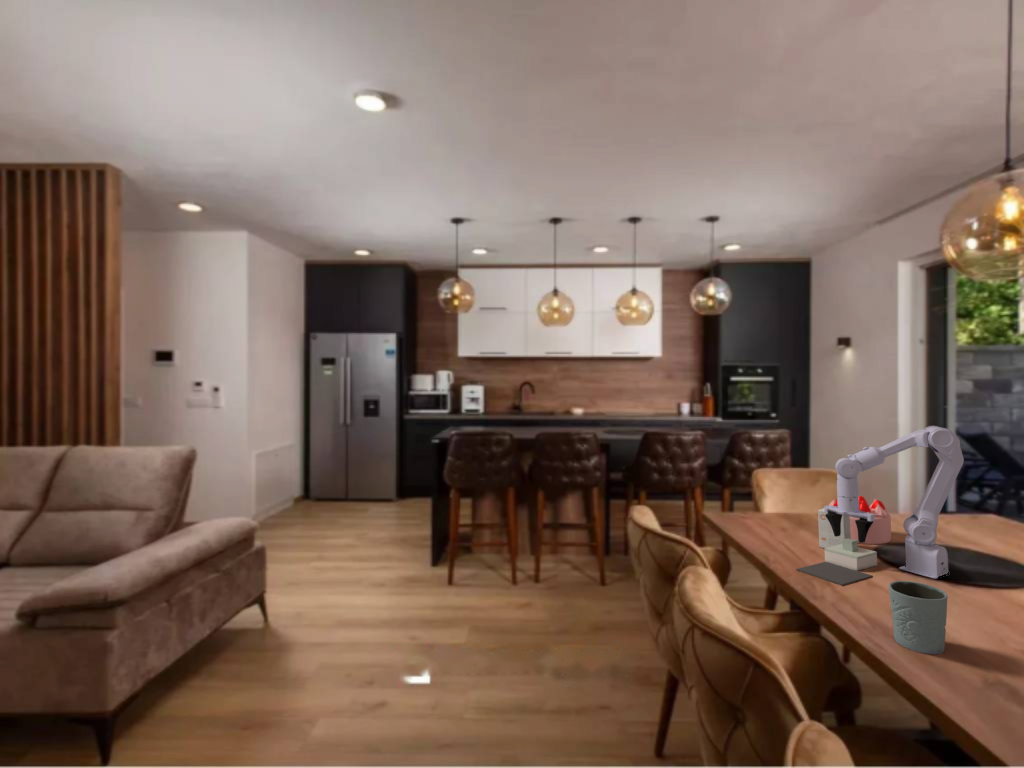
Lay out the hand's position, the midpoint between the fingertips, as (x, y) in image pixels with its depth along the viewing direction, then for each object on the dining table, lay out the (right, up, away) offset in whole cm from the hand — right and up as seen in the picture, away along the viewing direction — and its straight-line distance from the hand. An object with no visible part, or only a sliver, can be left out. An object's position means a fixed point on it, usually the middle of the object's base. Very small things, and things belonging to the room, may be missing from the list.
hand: (849, 538), depth 159 cm
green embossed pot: (-19, -8, -50) cm, 54 cm away
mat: (-10, -8, -8) cm, 15 cm away
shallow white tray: (0, -8, 0) cm, 8 cm away
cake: (+22, -8, +27) cm, 36 cm away
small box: (+5, -8, +15) cm, 18 cm away
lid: (0, -4, 0) cm, 4 cm away
